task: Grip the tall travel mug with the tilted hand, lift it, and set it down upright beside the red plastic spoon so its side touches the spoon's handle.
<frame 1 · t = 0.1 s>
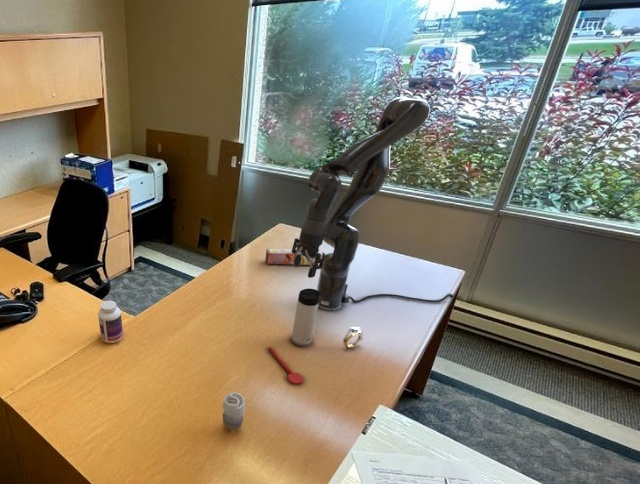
hand: (303, 271, 149), 17 cm above the table, tool pointing down, fingers open, 8 cm apart
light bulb: (231, 428, 113), on the table
ring: (350, 347, 138), on the table
spoon: (285, 368, 132), on the table
snack package: (289, 263, 189), on the table
travel mug: (301, 341, 142), on the table
pill bottle: (112, 337, 151), on the table
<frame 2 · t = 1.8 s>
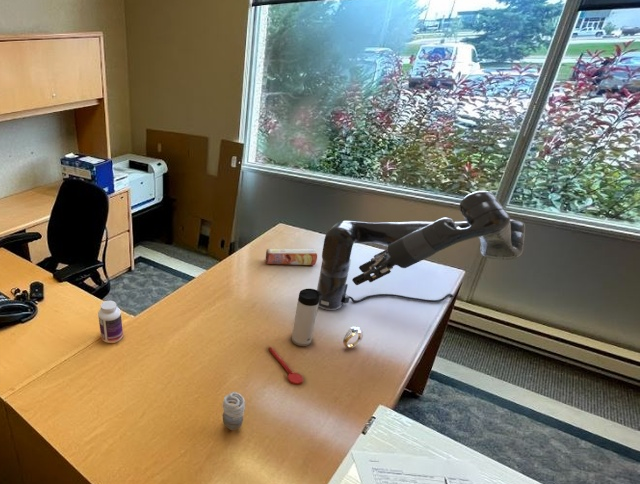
hand: (357, 275, 121), 30 cm above the table, tool tilted 45°, fingers open, 8 cm apart
nothing on the table moved.
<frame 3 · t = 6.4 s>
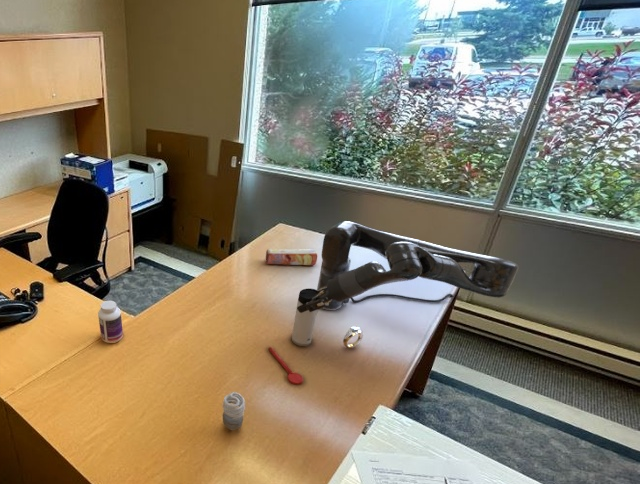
hand: (302, 305, 136), 14 cm above the table, tool tilted 45°, fingers closed on travel mug, 6 cm apart
travel mug: (301, 341, 142), on the table, touching gripper
everything else where it was.
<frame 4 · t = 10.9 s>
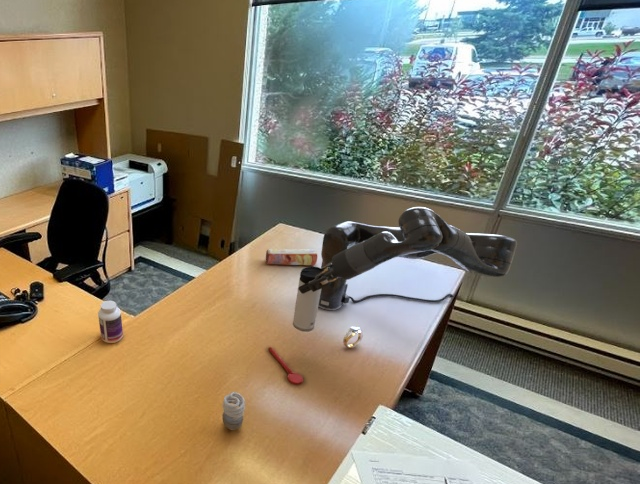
hand: (304, 285, 122), 28 cm above the table, tool tilted 45°, fingers closed on travel mug, 6 cm apart
travel mug: (303, 326, 129), point 13 cm above the table, touching gripper
everything else where it was.
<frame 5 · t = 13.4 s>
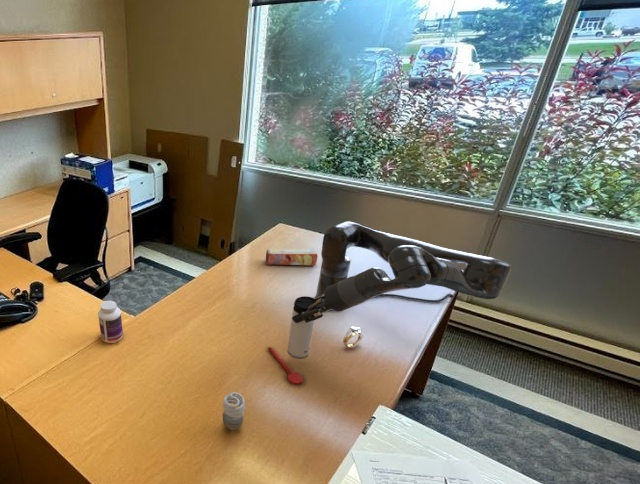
hand: (298, 314, 125), 19 cm above the table, tool tilted 45°, fingers closed on travel mug, 6 cm apart
travel mug: (298, 353, 131), point 4 cm above the table, touching gripper
everything else where it was.
when the fingers open (14 cm above the table, at t = 15.2 s): travel mug stays where it is, on the table.
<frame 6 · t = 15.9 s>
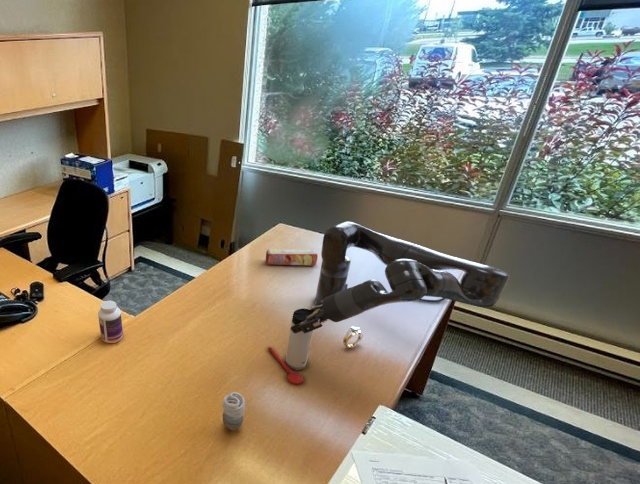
hand: (297, 323, 126), 16 cm above the table, tool tilted 45°, fingers open, 8 cm apart
travel mug: (295, 363, 133), on the table
everything else where it was.
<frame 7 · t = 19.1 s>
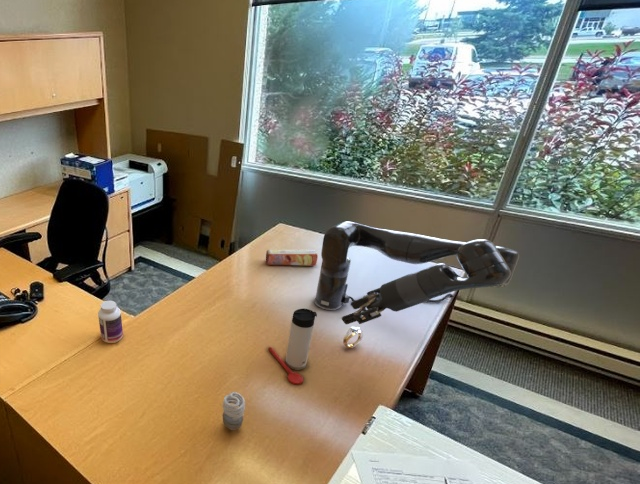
hand: (348, 313, 116), 24 cm above the table, tool tilted 45°, fingers open, 8 cm apart
nothing on the table moved.
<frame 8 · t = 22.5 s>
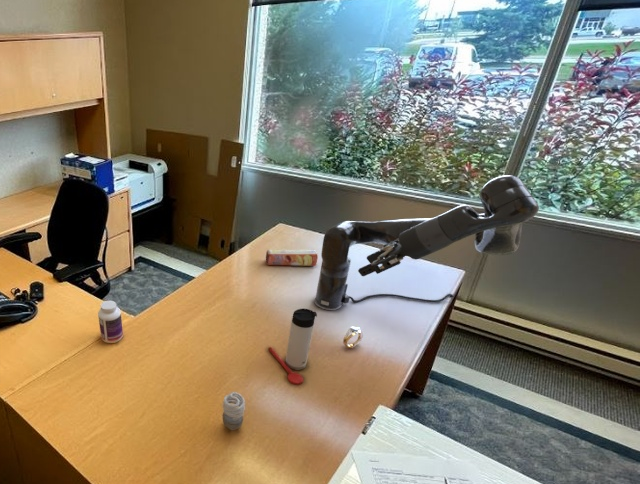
hand: (364, 266, 112), 37 cm above the table, tool tilted 45°, fingers open, 8 cm apart
nothing on the table moved.
at the end: travel mug 4.4 cm from the spoon (horizontally); travel mug tilted 0°; the gripper is holding nothing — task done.
